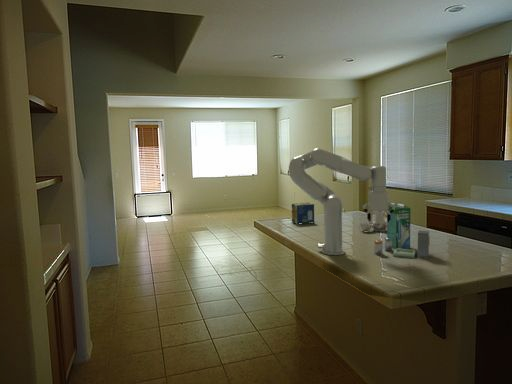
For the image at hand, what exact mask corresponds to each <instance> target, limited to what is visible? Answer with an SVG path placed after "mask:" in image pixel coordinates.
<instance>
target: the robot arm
mask: <svg viewBox="0 0 512 384" xmlns="http://www.w3.org/2000/svg"><path fill="white" fill-rule="evenodd" d="M317 165H318V166H321V167H323V168H326V169H329V170H331V171H334V172H337V173H340V174H344V175H346V176H348V177H350V178H351V177H352V178H354V179H357V180H359V181H362V182H366V181H369V180H370V182H371V183H370V184H371V186H369V187H368V190H369V193H368V194H369V195H368V202H367V203H364V204H363V205H361V207H362V209H363V211H364V212H365V213H366V215H367V216H366V217H367V220H368V222H369V221H371V213H370V212H375V211H384V212H385V213H386V221H387V222H389V220H391V213H392V212H393V211H394V210H395V208H396V206H395V205H393V204H391V203H392V202H390V200H389V199H390V198H389V194H388V191H387V168H386V166H384V165H374V166H367V165H363V164H359V163H357V162H354V161H352V160H350V159H347V158H346V157H345V156H341V155H339V154H335V153H333V152H330V151H328V150H325V149H322V148H319V147H316V148H314V149H312V150H311V151H309V152H306V153H304V154H301V155H299V156H295V157H293V158H292V159H291V160H290V161H289V165H288V174H289V176H290V179H291V181H292V182H293V183H294V184H295V185H296V186H298V187H299V188H300V189H301V190H302V191H304V193H305V194H307V195H308V196H310V198H311V199H313V200H315V201H318V202H319V203H320V204H321V205H323V218H324V219H323V223H324V224H323V225H324V230H323V231H324V243H323V244H321V243H318V244H317V246H316V247H317V248H318V249H321V253H322V254H324V255H327V256H328V255H329V256H341V255H344V254H346V250H345V249H344V248H343V202H342V198H341V196H339V195H338V194H337V193H336V192H335V191H334V190H332V189H330V188H329V187H328V186H327V185H326V184H325V183H323V182H320V181H317V180H315V178H313V177H312V176H311V175H310V174H308V172H306V171H305V170H307V169H310V168H312V167H313V168H314V167H315V166H317ZM389 206H391V207H392V210H391V211H390V210H389ZM367 207H368V209H367ZM387 213H388V214H387ZM387 222H386V223H387Z"/></svg>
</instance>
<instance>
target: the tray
mask: <svg viewBox="0 0 512 384" xmlns="http://www.w3.org/2000/svg"><path fill="white" fill-rule="evenodd" d="M416 254H417V253H416V249H409V248H401V249H399V248H396V249H395V248H394V251H393V257H397V258H409V259H414V258H415V257H416Z"/></svg>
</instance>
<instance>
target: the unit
mask: <svg viewBox="0 0 512 384" xmlns="http://www.w3.org/2000/svg"><path fill="white" fill-rule="evenodd" d="M430 246H431V236H430V231H429V230H418V231H417V258H422V259H423V258H424V259H429V256H430Z"/></svg>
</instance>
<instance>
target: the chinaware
mask: <svg viewBox="0 0 512 384" xmlns="http://www.w3.org/2000/svg"><path fill="white" fill-rule="evenodd" d="M370 213H371V221H368V222H367V223H366V222H365V223H359V225H358V229H359V230H361V231H362V232H364V231H368V232H370V230H371V229H372V230H375V231H374V232H377V231H383V232H387V220H385V217H384V216H387V213H386V212H385V211H374V214H375V215H374V217H375V218H374V221H373V211H371V212H370Z"/></svg>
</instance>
